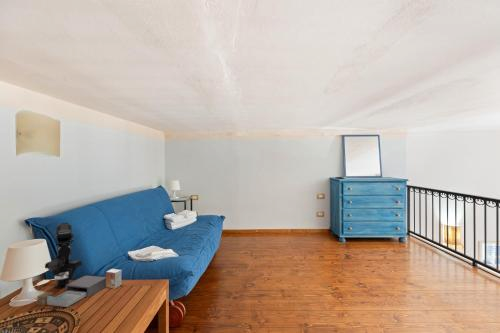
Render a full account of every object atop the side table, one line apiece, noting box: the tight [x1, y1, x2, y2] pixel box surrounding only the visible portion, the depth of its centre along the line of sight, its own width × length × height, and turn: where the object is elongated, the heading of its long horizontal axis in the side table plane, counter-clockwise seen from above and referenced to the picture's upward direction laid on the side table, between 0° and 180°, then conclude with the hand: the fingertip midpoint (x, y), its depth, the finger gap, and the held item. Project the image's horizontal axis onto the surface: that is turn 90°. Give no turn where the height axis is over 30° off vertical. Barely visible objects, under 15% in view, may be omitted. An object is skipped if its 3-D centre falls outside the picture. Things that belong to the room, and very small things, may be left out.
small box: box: [105, 268, 123, 290], centre depth 161 cm, size 8×6×10 cm
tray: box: [46, 290, 87, 308], centre depth 143 cm, size 14×14×4 cm
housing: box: [65, 275, 107, 298], centre depth 156 cm, size 17×14×6 cm
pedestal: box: [36, 291, 54, 306], centre depth 140 cm, size 5×5×5 cm
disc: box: [54, 272, 69, 281], centre depth 142 cm, size 8×8×2 cm
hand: (63, 278), depth 142 cm, fingers closed on disc, 8 cm apart
